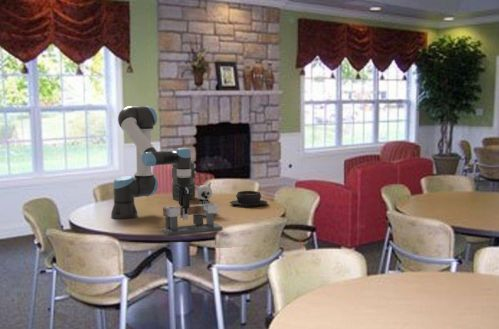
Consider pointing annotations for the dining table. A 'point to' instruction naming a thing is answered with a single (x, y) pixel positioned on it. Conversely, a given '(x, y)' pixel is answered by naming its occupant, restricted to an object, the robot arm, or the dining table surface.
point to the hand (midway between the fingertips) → (184, 218)
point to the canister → (175, 186)
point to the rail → (191, 210)
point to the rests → (196, 220)
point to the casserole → (248, 198)
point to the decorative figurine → (203, 194)
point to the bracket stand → (174, 228)
